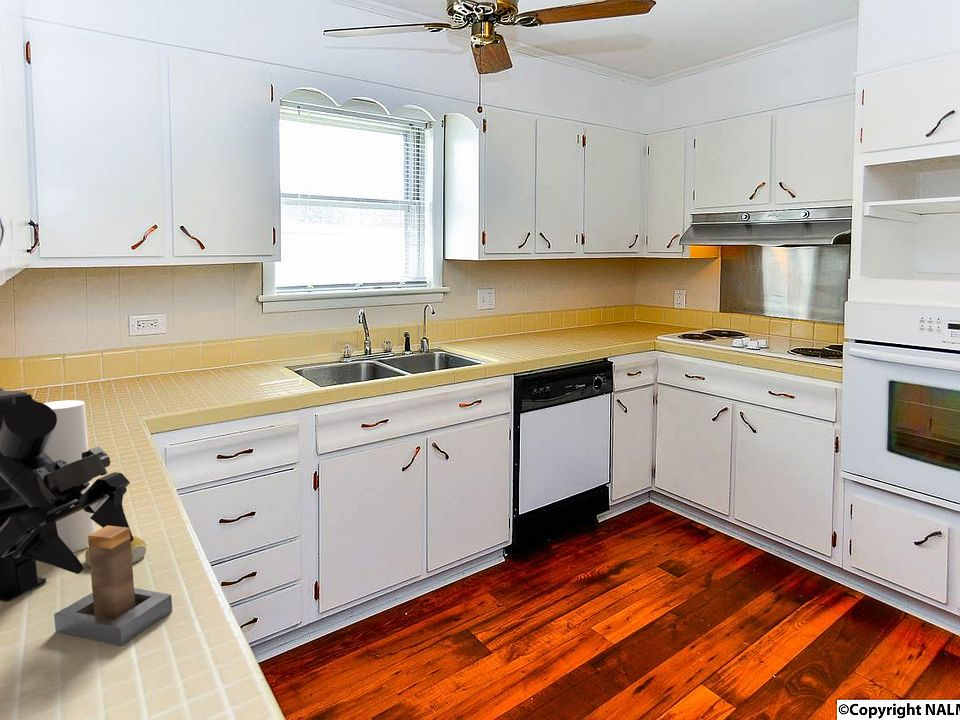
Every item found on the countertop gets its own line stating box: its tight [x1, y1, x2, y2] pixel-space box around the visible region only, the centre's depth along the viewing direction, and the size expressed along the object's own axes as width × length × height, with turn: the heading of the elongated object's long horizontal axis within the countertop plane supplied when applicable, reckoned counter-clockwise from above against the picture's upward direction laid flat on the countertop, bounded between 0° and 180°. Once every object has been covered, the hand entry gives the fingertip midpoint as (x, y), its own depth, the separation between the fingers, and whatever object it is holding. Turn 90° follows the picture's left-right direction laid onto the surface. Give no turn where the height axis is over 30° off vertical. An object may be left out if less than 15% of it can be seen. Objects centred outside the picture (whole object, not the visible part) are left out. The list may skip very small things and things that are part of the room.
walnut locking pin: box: [88, 526, 135, 620], centre depth 91 cm, size 4×4×13 cm
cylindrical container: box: [42, 399, 96, 553], centre depth 114 cm, size 7×7×25 cm
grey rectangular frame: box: [53, 587, 173, 647], centre depth 92 cm, size 11×9×2 cm
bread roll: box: [84, 535, 147, 567], centre depth 111 cm, size 8×9×4 cm
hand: (107, 556), depth 91 cm, fingers open, 9 cm apart
